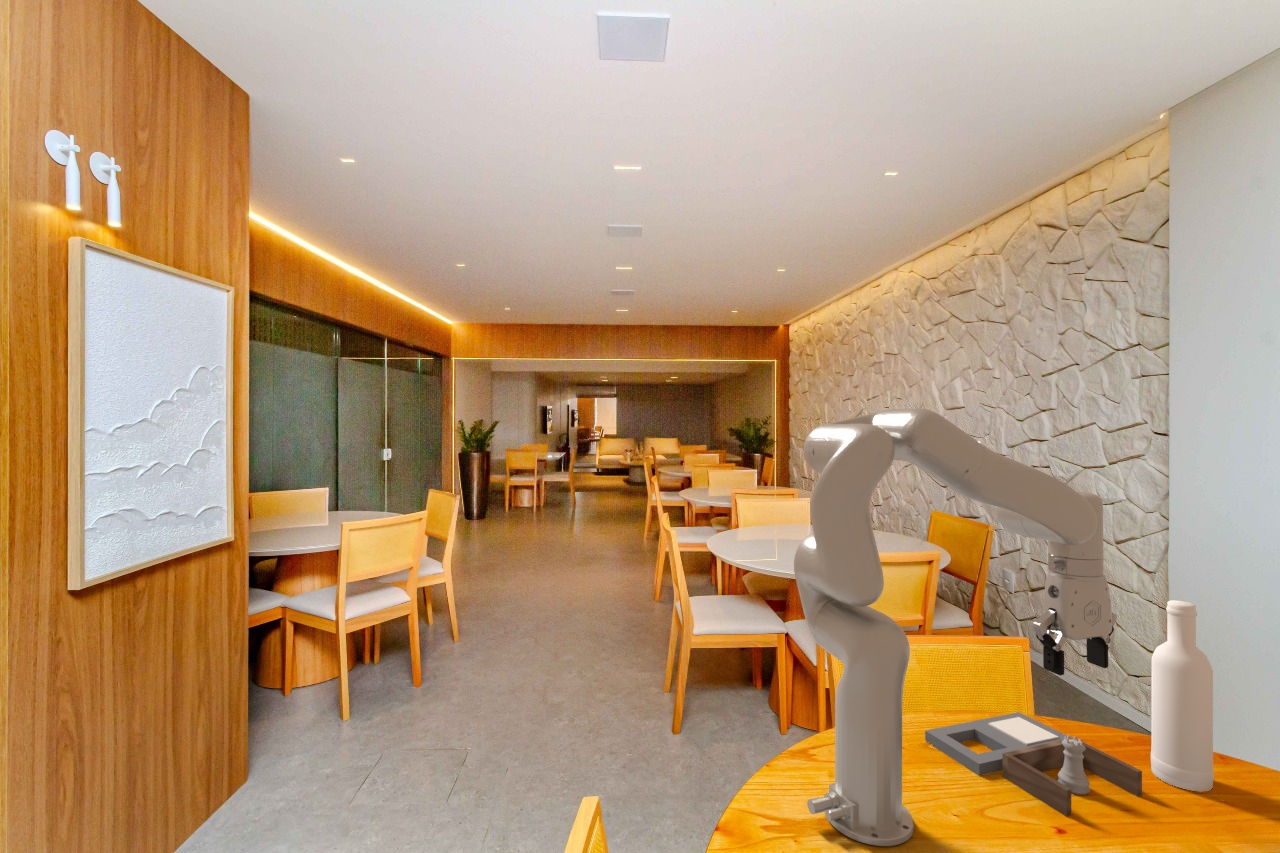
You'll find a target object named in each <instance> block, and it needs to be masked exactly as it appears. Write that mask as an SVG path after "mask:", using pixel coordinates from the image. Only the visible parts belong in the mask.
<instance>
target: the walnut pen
mask: <svg viewBox="0 0 1280 853" xmlns="http://www.w3.org/2000/svg"><path fill="white" fill-rule="evenodd" d="M1071 739H1073V737H1071ZM1077 740H1078V741H1079V738H1077ZM1062 741H1063V740H1061V741H1056V742H1052V743H1047V744H1043V745H1038V746H1034V747H1029V748H1025V749H1020V750H1016V751H1011V752H1007V753H1003V754H1002V770H1001V771H1002V778H1003V779H1005V780H1006V781H1009V782H1010V783H1012V784H1013V785H1015V786H1016V787H1019V789H1022V790H1023V791H1025V792H1026V793H1028V794H1029V795H1031V796H1033V798H1036V799H1038V800H1039V801H1041V802H1042V803H1044V804H1045V805H1047V806H1048V807H1050V808H1053V810H1056V811H1057V812H1059V813H1060V814H1061V815H1063V816H1064V817H1071V816H1072V793H1071V789H1070V788H1068V787H1067V786H1065V785H1063V784H1061V783H1060V782H1058V781H1057V779H1054V778H1053V777H1051V776H1049V775H1047V774H1046V773H1044V772H1046V771H1051V770H1055V769H1060V768H1063V765H1064V759H1065V754H1064V753H1063V751H1064V750H1065V747H1064V746H1063V744H1062ZM1082 742H1083V745H1084V746H1085V748H1086V749H1085V750H1084V751H1083V752H1082V754H1083V756H1084V758H1083V768H1084V770H1086V771H1088V772H1091V773H1092V774H1094V775H1096V776H1098V777H1099V778H1102V779H1104V780H1106V781H1107V782H1108V783H1111V784H1113V785H1115V786H1117V787H1118V788H1120V789H1121V790H1124V791H1126V792H1127V793H1130V794H1132V795H1133V796H1135V795H1136V796H1135V797H1137V796H1138V798H1139V797H1141V795H1142V796H1143V770H1141V769H1139V768H1137V767H1135V766H1133V765H1131V764H1128V763H1127V762H1125V761H1122V760H1121V759H1118V758H1117V757H1114V756H1113V755H1110V754H1109V753H1106V752H1104V751H1102V750H1100V749H1098V748H1096V747H1094V746H1092V745H1091V744H1088V743H1085V742H1084V741H1082Z"/></svg>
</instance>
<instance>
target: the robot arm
mask: <svg viewBox="0 0 1280 853" xmlns="http://www.w3.org/2000/svg"><path fill="white" fill-rule="evenodd" d="M803 456H804V458H805V459H804V460H805V462H806V464H807V465H808V466H809V467H810V468H811V469H812V470H813V471H814V472H816V473H818V474H820V475H819V477H818V479H817V480H816V483H815V484H814V488H813V491H812V494H811V498H810V504H809V505H810V506H809V514H810V521H811V525H812V526H811V527H812V532H813V533H811V534H809V535H808V536H806V537H805V538H804V539H803V540H802V541H801V542H800V543H799V545H798V546H797V548H796V551H795V554H794V558H793V559H794V560H793V572H794V577H795V580H796V581H795V582H796V587H797V589H798V594H799V598H800V601H801V602H800V603H801V608H802V610H803V615H804V618H805V622H806V626H807V628H808V631H809V633H810V635H811V638H812V639H813V640H814V641H815V643H816V644H817V645H818V646H820V647H821V649H823V650H824V651H826V652H827V653H828V654H830V655H831V656H833V657H834V658H836V659H837V660H838V661H840V662H841V663H842V664H843V671H842V674H841V677H840V679H839V681H838V683H837V687H836V689H835V690H836V691H835V697H834V698H835V699H834V700H835V702H834V709H835V710H834V711H835V714H834V716H835V717H834V718H835V720H834V721H835V723H834V727H835V728H834V738H835V739H834V742H835V744H834V751H835V752H834V756H835V757H834V782H833V783H829V784H828V792H826V793H825V794H823V796H821V797H814V798H811V799H807V801H806V802H807V803H806V804H807V809H808V812H809V813H810V814H811V815H816V814H817V815H818V814H820V813H825V817H826V819H827V821H828V822H829V823H830V824H831V825H832V826H833V827H834V828H835V829H836V830H837V831H838V832H840V834H843V835H844V836H846V837H848V838H849V839H852V840H854V841H857V842H859V843H862V844H865V845H869V846H876V847H893V846H898V845H901V844H903V843H906V842H907V841H908V840H909V839H911V838H912V836H913V833H914V819H913V816H912V814H911V813H910V811H909V810H908V809H907V807H906V806H904V805H903V697H904V687H905V680H906V674H907V670H908V666H909V662H910V654H911V652H910V651H911V650H910V649H911V648H910V642H909V639H908V637H907V635H906V632H905V631H904V629H903V628H902V627H901V626H900V624H898V623H897V622H896V621H895V620H894V619H893V618H891V617H890V616H889V615H886V614H885V613H883V612H881V611H879V610H877V609H875V608H872V607H870V605H872V604H874V603H876V602H877V601H879V599H880V597H881V595H882V593H883V592H884V584H885V581H884V580H885V579H884V573H883V568H882V567H883V566H882V564H881V563H882V562H881V558H880V554H879V549H878V547H877V541H876V538H875V533H874V529H873V526H872V519H871V512H870V510H871V509H870V506H871V501H872V496H873V493H874V491H875V490H876V488H877V486H878V485H879V483H880V482H881V480H882V479H883V478H884V476H885V475H886V474H887V472H888V470H889V469H891V466H892V464H893V462H894V461H903V462H907V463H910V464H911V465H914V466H915V467H917V468H918V469H920V470H921V471H923V472H925V473H926V474H928V475H929V476H930V477H932V478H934V479H935V480H937V481H938V482H940V483H941V484H942V485H944V486H946V487H947V488H949V489H950V490H951V491H953V492H955V493H956V494H958V495H961V496H963V497H964V498H966V499H970V500H972V501H976V502H978V503H981V504H986V505H989V506H992V507H996V517H997V520H998V522H999V523H1000V525H1001V526H1002V527H1003V528H1005V530H1007V531H1008V532H1011V533H1013V534H1015V535H1019V536H1022V537H1023V536H1024V537H1028V538H1032V539H1039V540H1044V541H1047V575H1046V579H1045V584H1044V585H1045V586H1044V590H1043V591H1044V592H1043V602H1042V603H1043V606H1042V615H1040V616H1039V617H1038V618H1037V619H1036V620H1034V621H1032V627H1033V629H1034V632H1035V637H1036V639H1038V640H1039V645H1041V646H1042V650H1043V651H1042V654H1043V656H1042V657H1043V658H1042V659H1043V660H1042V661H1043V666H1042V667H1043V669H1044V670H1046V671H1048V672H1051V673H1053V674H1055V675H1057V676H1064V675H1065V651H1064V650H1062V648H1063V646H1064V644H1065V643H1066V641H1067V640H1068V639H1069V640H1071V641H1080V640H1086V661H1087V662H1088V663H1090V664H1092V665H1094V666H1097V667H1100V668H1103V669H1108V668H1109V645H1110V643H1111V642H1112V639H1111V636H1112V634H1113V633H1114V630H1115V628H1114V626H1115V624H1116V621H1117V618H1118V616H1117V614H1116V613H1114V612H1113V611H1112V603H1111V592H1110V587H1109V583H1108V580H1107V576H1106V575H1105V574H1104V504H1103V500H1102V498H1101V497H1100V496H1099V495H1097V494H1095V493H1091V492H1090V493H1089V492H1084V491H1083V492H1082V491H1076V490H1074V489H1073V487H1071V486H1069V485H1067V484H1066V483H1064V482H1062V480H1060V479H1057V478H1056V477H1054V476H1053V475H1050V474H1047V473H1045V472H1043V471H1041V470H1038V469H1036V468H1034V467H1032V466H1028V465H1027V464H1024V463H1022V462H1019V461H1018V460H1016V459H1013V458H1011V457H1008V456H1005V455H1002V454H1000V453H998V452H995V451H994V450H991V449H990V448H988V447H987V446H986V445H984V444H983V443H982V442H980V441H979V440H977V439H975V438H974V437H973V436H971V435H970V434H968V433H967V432H965V431H964V430H962V429H961V428H959V427H958V426H957V425H956V424H954V423H953V422H951V421H950V420H948V419H947V418H945V417H944V416H942V415H941V414H939V413H937V412H936V411H933V410H931V409H927V408H920V407H918V408H917V407H916V408H915V407H913V408H899V409H885V410H880V411H877V412H872V413H868V414H865V415H859V416H856V417H851V418H845V419H842V420H837V421H833V422H829V423H825V424H821V425H819V426H817V427H816V428H814V429H813V430H812V431H810V433H809V434H807V437H806V438H805V441H804V444H803ZM1054 636H1056V639H1054V638H1053V637H1054Z"/></svg>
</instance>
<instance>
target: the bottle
mask: <svg viewBox="0 0 1280 853" xmlns="http://www.w3.org/2000/svg"><path fill="white" fill-rule="evenodd" d="M1165 611H1166V612H1167V613H1166V616H1167V618H1166V619H1167V620H1166V621H1167V622H1166V624H1167V626H1166V627H1167V629H1166V630H1167V631H1166V635H1167V636H1166V638H1167V640H1166V641H1165V642H1162V643H1161V644H1159V645H1158V646H1156V648H1155V650H1154V651H1153V653H1152V656H1151V674H1150V675H1151V687H1150V688H1151V690H1150V691H1151V697H1150V698H1151V700H1150V701H1151V702H1150V703H1151V705H1150V706H1151V718H1150V720H1151V724H1150V725H1151V727H1150V728H1151V731H1150V732H1151V733H1150V734H1151V739H1150V740H1151V748H1150V749H1151V751H1150V763H1151V764H1150V766H1151V768H1150V770H1151V772H1152V774H1153V775H1154V776H1155V777H1156V778H1157V777H1158V778H1157V779H1159V780H1160V779H1161V780H1160V781H1162V782H1163V781H1164V783H1165V782H1166V784H1167V785H1170V786H1172V785H1173V786H1172V787H1174V786H1176V787H1175V788H1177V787H1180V788H1183V789H1187V790H1186V791H1188V790H1192V791H1207V790H1211V789H1212V788H1213V789H1214V780H1215V776H1214V775H1215V773H1214V757H1213V756H1214V670H1213V668H1212V665H1211V663H1210V661H1209V659H1208V656H1207V655H1206V654H1205V653H1204V652H1203V651H1202V650H1201V649H1200V648H1199V647H1198V646H1197V645H1196V644H1197V642H1196V641H1197V616H1198V613H1197V607H1196V605H1195V604H1194V603H1193V602H1188V601H1184V600H1183V601H1182V600H1177V599H1175V600H1174V599H1172V600H1171V599H1170V600H1168V601H1167V604H1166V608H1165ZM1180 788H1179V789H1180ZM1183 789H1182V790H1183ZM1213 789H1212V790H1213ZM1212 790H1211V791H1212ZM1192 791H1191V792H1192Z"/></svg>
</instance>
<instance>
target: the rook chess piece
mask: <svg viewBox="0 0 1280 853" xmlns="http://www.w3.org/2000/svg"><path fill="white" fill-rule="evenodd" d="M1071 738H1073V739H1071ZM1077 739H1078V740H1079V741H1078V740H1077ZM1083 742H1084V741H1083V740H1082V739H1081V738H1077V736H1072V737H1071V735H1067V737H1066V736H1065V737H1064V740H1063V741H1062V744H1063V746H1064V747H1065V750H1064V751H1063V753H1064V754H1065V759H1064V765H1063V767H1060V768H1061V769H1060V770H1059V771H1058V773H1057V777H1058V778H1057V779H1056V781H1058V782H1060V783H1061V784H1063V785H1065V786H1067V787H1068V788H1070V789H1071V794H1074V795H1081V796H1084V795H1085V796H1086V795H1087V794H1089V793H1090V791H1091V787H1090V781H1089V779H1088V777H1087V775H1086V773H1085V769H1084V768H1083V758H1084V756H1083V754H1082V752H1083V751H1084V750H1085V749H1086V748H1085V746H1084V745H1083Z"/></svg>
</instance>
